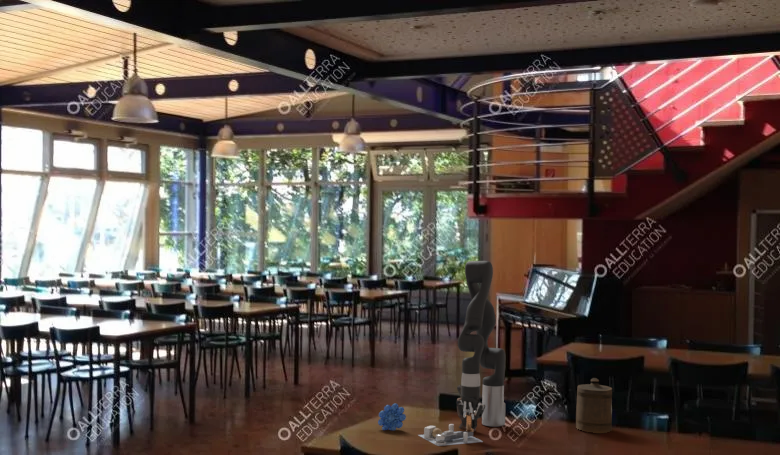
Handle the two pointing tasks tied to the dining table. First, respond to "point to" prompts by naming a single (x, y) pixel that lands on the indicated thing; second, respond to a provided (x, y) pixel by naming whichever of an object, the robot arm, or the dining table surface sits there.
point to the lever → (451, 436)
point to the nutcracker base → (464, 440)
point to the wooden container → (594, 407)
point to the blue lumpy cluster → (391, 417)
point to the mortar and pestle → (461, 409)
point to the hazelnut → (436, 432)
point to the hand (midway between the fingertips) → (470, 427)
